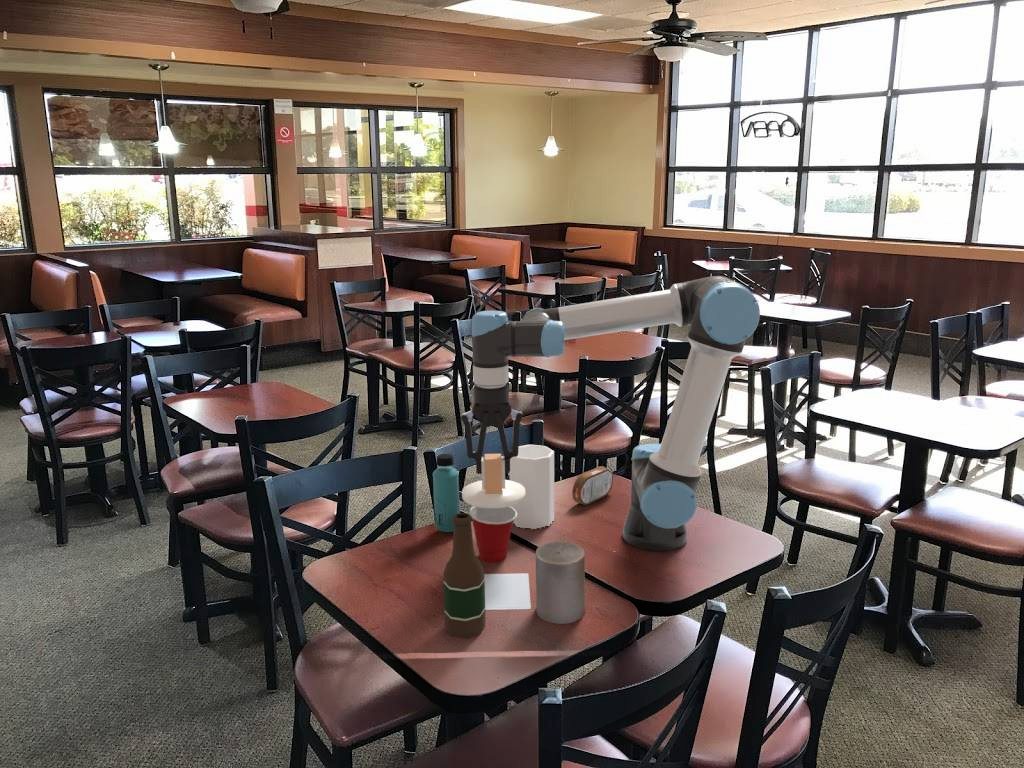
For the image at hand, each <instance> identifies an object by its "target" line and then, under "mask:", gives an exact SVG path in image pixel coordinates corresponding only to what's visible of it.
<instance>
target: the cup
mask: <svg viewBox="0 0 1024 768" xmlns="http://www.w3.org/2000/svg"><path fill="white" fill-rule="evenodd" d="M508 474H509V480H510V481H514V482H517V483H519V484H521V485H522V486H524V488H525V499H524V500H523V501H522V502H520V503H518V504H516V505H513V506H510V507H512V508H514V509H515V510H516V511H517V517H516V518H515V520H514V524H515V527H517V528H518V527H520V528H519V529H525V528H531V529H530V530H533V529H535V530H537V529H536V528H539V529H542V528H541V527H544V528H546V527H545V526H548V527H550V526H551V525H552V523H553V522H552V521H554V520H555V451H554V449H553V450H552V449H551V448H549V447H548V446H546V445H541V444H539V445H537V444H525V445H520V446H518V456H517V457H512V458H511V459H510V472H509V473H508ZM514 524H513V525H514ZM550 524H551V525H550Z"/></svg>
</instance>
